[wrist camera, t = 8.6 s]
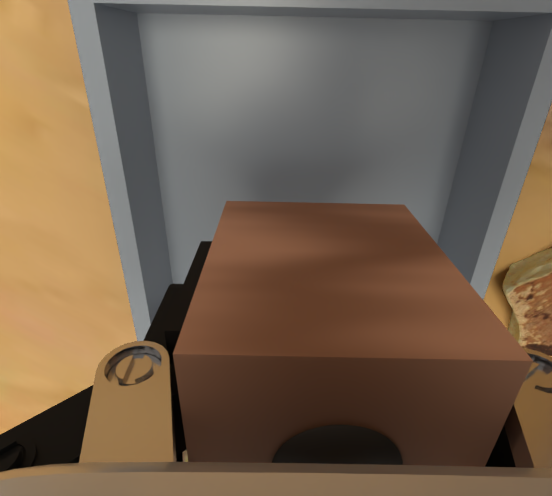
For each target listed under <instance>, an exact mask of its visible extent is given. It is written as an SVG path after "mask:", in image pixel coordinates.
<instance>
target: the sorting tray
mask: <svg viewBox="0 0 552 496" xmlns="http://www.w3.org/2000/svg"><path fill="white" fill-rule="evenodd" d="M68 5H69V9H70V14H71V19H72V24H73V29H74V34H75V39H76V44H77V48H78V53H79V58H80V63H81V68H82V73H83V78H84V83H85V87H86V92H87V97H88V102H89V107H90V112H91V117H92V122H93V127H94V131H95V136H96V141H97V146H98V151H99V156H100V161H101V166H102V170H103V175H104V180H105V185H106V190H107V195H108V200H109V205H110V209H111V214H112V219H113V224H114V229H115V234H116V239H117V244H118V248H119V253H120V258H121V263H122V268H123V273H124V278H125V283H126V288H127V292H128V297H129V302H130V307H131V312H132V317H133V322H134V327H135V331H136V336H137V341H143V340H144V338H145V336H146V334H147V332H148V329H149V327H150V325H151V323H152V321H153V319H154V317H155V314H156V312H157V310H158V308H159V306H160V304H161V302H162V299H163V297H164V295H165V293H166V291H167V289H168V287H169V285H170V284H184V281H185V279H186V276H187V274H188V271H189V269H190V267H191V264H192V262H193V259H194V257H195V254H196V252H197V249H198V247H199V245H200V242H201V241H213V238H214V235H215V232H216V229H217V226H218V224H219V221H220V218H221V215H222V212H223V209H224V206H225V204H226V201H259V202H307V203H356V204H404V205H405V206H406V207H407V208H408V210H409V211H410V212H411V213H412V214H413V216H414V217H415V218H416V219H417V220H418V222H419V223H420V224H421V225H422V227H423V228H424V229H425V230H426V231H427V233H428V234H429V235H430V236H431V237H432V239H433V240H434V241H435V242H436V244H437V245H438V246H439V247H440V248H441V250H442V251H443V252H444V253H445V254H446V256H447V257H448V258H449V259H450V261H451V262H452V263H453V264H454V265H455V267H456V268H457V269H458V270H459V271H460V273H461V274H462V275H463V276H464V278H465V279H466V280H467V281H468V282H469V284H470V285H471V286H472V287H473V288H474V290H475V291H476V292H477V293H478V295H479V296H480V297H481V298H482V299H484V296H485V293H486V290H487V287H488V285H489V282H490V279H491V276H492V273H493V270H494V267H495V264H496V261H497V259H498V256H499V253H500V250H501V247H502V244H503V241H504V238H505V235H506V233H507V230H508V227H509V224H510V221H511V218H512V215H513V212H514V209H515V207H516V204H517V201H518V198H519V195H520V192H521V189H522V186H523V183H524V181H525V178H526V175H527V172H528V169H529V166H530V163H531V160H532V157H533V155H534V152H535V149H536V146H537V143H538V140H539V137H540V134H541V131H542V129H543V126H544V123H545V120H546V117H547V114H548V111H549V108H550V105H551V103H552V0H68Z"/></svg>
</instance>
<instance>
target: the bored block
mask: <svg viewBox="0 0 552 496" xmlns="http://www.w3.org/2000/svg"><path fill="white" fill-rule="evenodd" d="M173 359H174V366H175V373H176V379H177V386H178V393H179V400H180V407H181V414H182V421H183V428H184V435H185V442H186V449H187V455H188V462H238V463H315V464H374V465H428V466H476V467H485V465H486V463H487V461H488V459H489V457H490V454H491V452H492V450H493V448H494V446H495V443H496V441H497V439H498V437H499V435H500V432H501V430H502V428H503V426H504V424H505V422H506V419H507V417H508V415H509V413H510V411H511V408H512V406H513V404H514V402H515V400H516V397H517V395H518V393H519V391H520V389H521V387H522V384H523V382H524V380H525V378H526V376H527V373H528V371H529V369H530V367H531V365H532V362H533V360H532V359H531V358H530V356H529V355H528V354H527V353H526V352H525V350H524V349H523V348H522V347H521V345H520V344H519V343H518V342H517V341H516V339H515V338H514V337H513V336H512V335H511V333H510V332H509V331H508V330H507V329H506V327H505V326H504V325H503V324H502V322H501V321H500V320H499V319H498V318H497V316H496V315H495V314H494V313H493V312H492V310H491V309H490V308H489V307H488V305H487V304H486V303H485V302H484V301H483V299H482V298H481V297H480V296H479V295H478V293H477V292H476V291H475V290H474V288H473V287H472V286H471V285H470V284H469V282H468V281H467V280H466V279H465V278H464V276H463V275H462V274H461V273H460V271H459V270H458V269H457V268H456V267H455V265H454V264H453V263H452V262H451V261H450V259H449V258H448V257H447V256H446V254H445V253H444V252H443V251H442V250H441V248H440V247H439V246H438V245H437V244H436V242H435V241H434V240H433V239H432V237H431V236H430V235H429V234H428V233H427V231H426V230H425V229H424V228H423V227H422V225H421V224H420V223H419V222H418V220H417V219H416V218H415V217H414V216H413V214H412V213H411V212H410V211H409V210H408V208H407V207H406V206H405V205H404V204H356V203H307V202H259V201H226V204H225V206H224V209H223V212H222V215H221V218H220V221H219V224H218V226H217V229H216V232H215V235H214V238H213V241H212V244H211V246H210V249H209V252H208V255H207V258H206V261H205V264H204V266H203V269H202V272H201V275H200V278H199V281H198V284H197V286H196V289H195V292H194V295H193V298H192V301H191V303H190V306H189V309H188V312H187V315H186V318H185V321H184V323H183V326H182V329H181V332H180V335H179V338H178V341H177V343H176V346H175V349H174V352H173Z"/></svg>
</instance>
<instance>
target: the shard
mask: <svg viewBox="0 0 552 496" xmlns="http://www.w3.org/2000/svg"><path fill="white" fill-rule="evenodd" d="M503 292H504V294H505V296H506V298H507V301H508V303H509V304H510V305H511V307H512V309H513V312H512V316H511V319H510V324H509V328H508V331H509V332H510V333H511V335H512V336H513V337H514V338H515V339H516V341H517V342H518V343H519V344H520V345H521V347H522V348H525V349H531V350H535V351H538V352H541V353H544V354H546V355H548V356H552V248H549V249H546V250H544V251H541V252H539V253H537V254H534V255H532V256H531V257H529V258H526V259H524V260H521V261H518V262H516V263H514V264H511V265H510V266H509V270H508V272H507V274H506V276H505V279H504V282H503Z"/></svg>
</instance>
